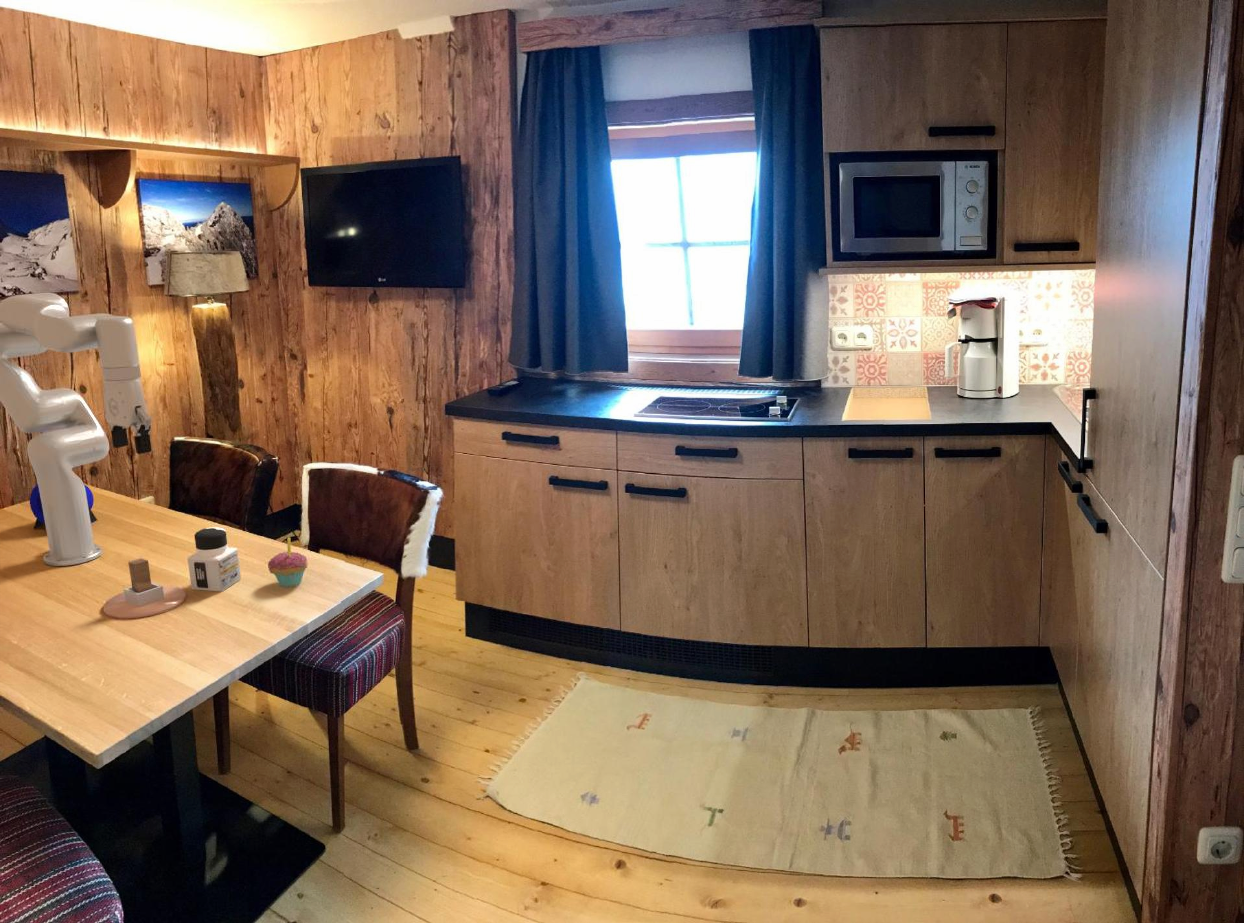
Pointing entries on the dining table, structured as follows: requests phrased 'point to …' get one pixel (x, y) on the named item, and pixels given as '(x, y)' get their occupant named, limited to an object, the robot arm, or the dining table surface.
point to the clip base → (144, 602)
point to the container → (213, 561)
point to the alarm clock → (38, 510)
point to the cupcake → (288, 567)
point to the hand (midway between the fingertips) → (132, 449)
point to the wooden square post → (140, 575)
